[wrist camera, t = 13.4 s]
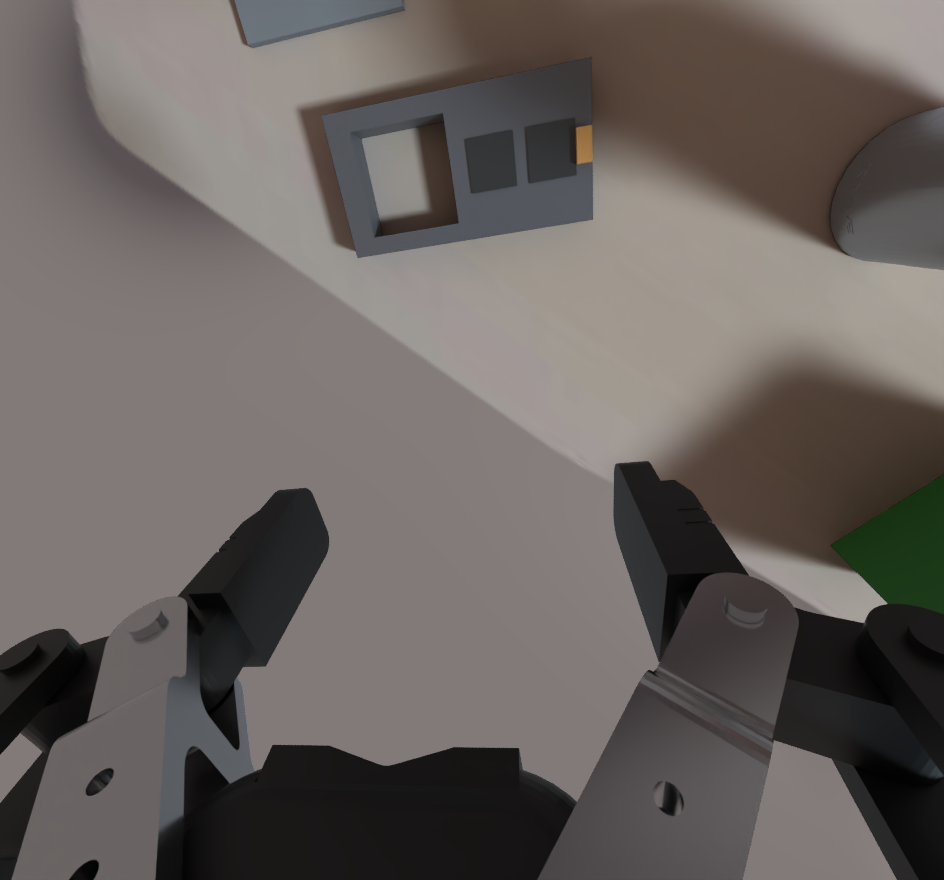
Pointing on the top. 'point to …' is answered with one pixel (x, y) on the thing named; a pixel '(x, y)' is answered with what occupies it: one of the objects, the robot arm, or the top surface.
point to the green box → (903, 550)
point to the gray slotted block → (482, 155)
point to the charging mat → (304, 16)
